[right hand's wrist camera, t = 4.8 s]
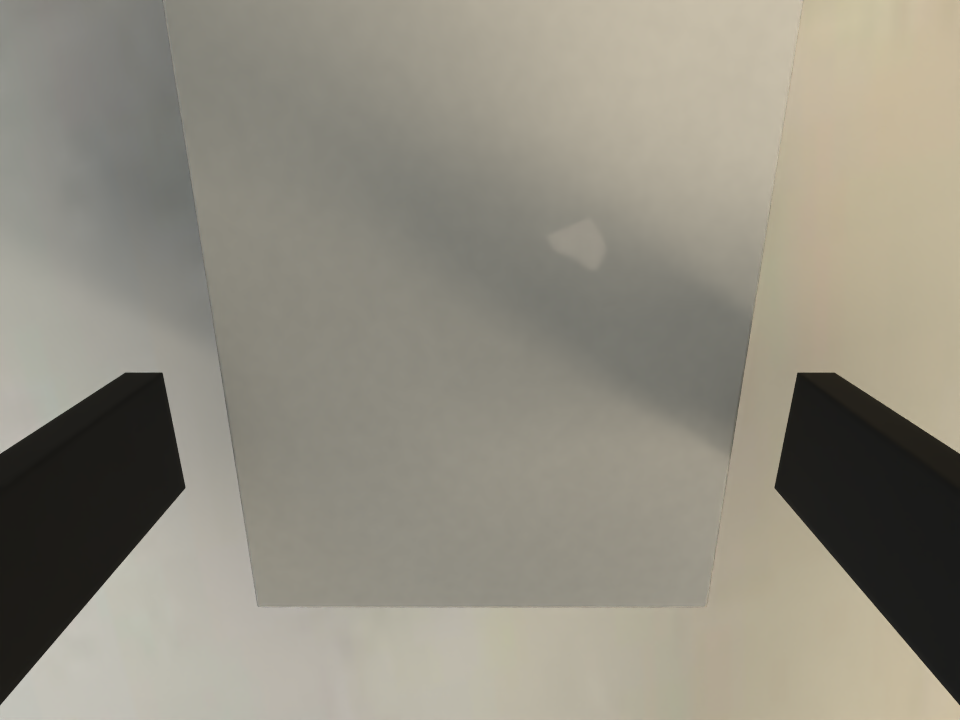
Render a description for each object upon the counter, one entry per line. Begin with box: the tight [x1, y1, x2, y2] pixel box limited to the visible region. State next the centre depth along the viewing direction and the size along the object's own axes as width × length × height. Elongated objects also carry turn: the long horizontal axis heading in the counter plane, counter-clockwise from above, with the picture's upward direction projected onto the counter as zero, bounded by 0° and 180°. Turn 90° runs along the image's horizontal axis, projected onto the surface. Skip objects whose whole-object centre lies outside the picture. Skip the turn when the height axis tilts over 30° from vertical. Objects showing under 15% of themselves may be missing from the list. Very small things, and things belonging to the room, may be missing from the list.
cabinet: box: [163, 0, 803, 607], centre depth 15 cm, size 21×11×10 cm, turn 0°
